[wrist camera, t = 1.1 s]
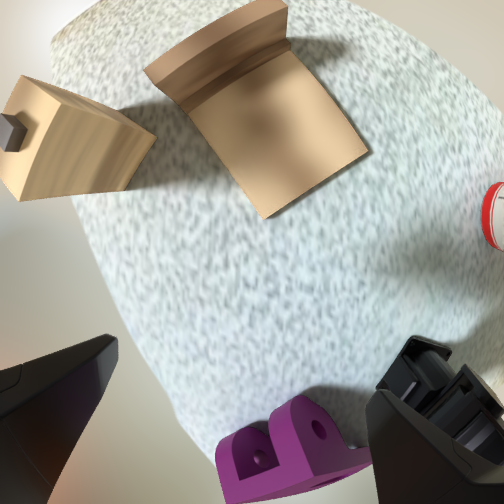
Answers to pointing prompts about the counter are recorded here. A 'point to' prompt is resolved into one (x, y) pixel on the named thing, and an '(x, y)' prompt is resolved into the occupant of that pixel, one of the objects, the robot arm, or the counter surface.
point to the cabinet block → (66, 143)
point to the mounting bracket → (286, 455)
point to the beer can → (494, 216)
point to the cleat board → (258, 105)
